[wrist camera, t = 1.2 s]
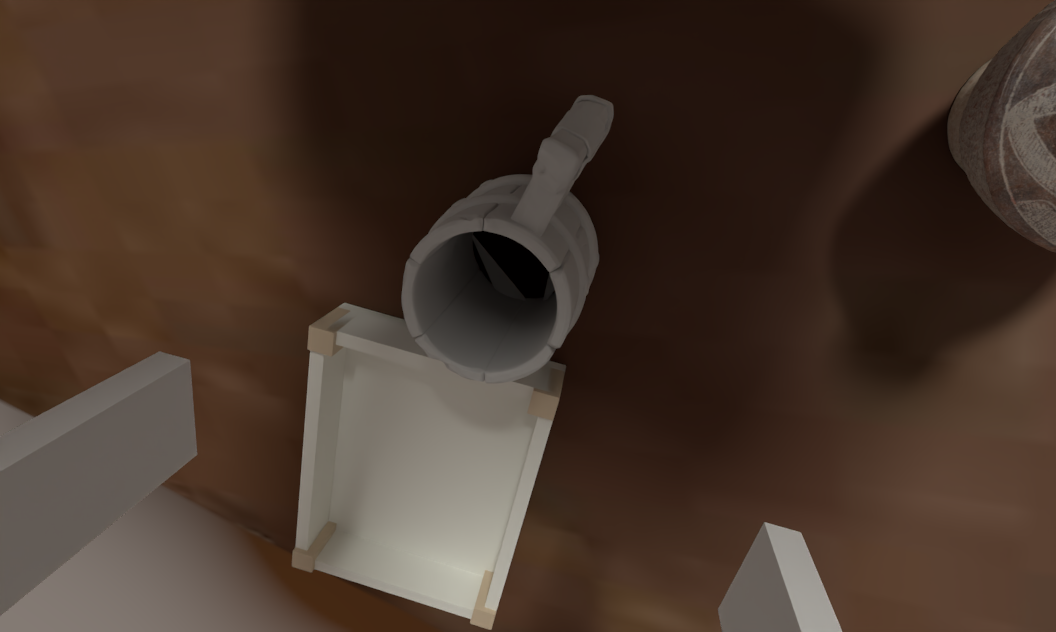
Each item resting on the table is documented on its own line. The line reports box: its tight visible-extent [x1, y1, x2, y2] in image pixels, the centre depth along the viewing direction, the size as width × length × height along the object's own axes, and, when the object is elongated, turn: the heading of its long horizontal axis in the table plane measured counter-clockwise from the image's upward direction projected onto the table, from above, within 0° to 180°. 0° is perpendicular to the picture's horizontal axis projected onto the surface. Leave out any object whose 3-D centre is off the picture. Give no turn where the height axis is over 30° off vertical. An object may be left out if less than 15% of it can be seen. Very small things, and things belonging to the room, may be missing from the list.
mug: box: [401, 95, 614, 383], centre depth 21 cm, size 8×12×12 cm, turn 152°
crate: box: [292, 303, 566, 630], centre depth 31 cm, size 18×14×4 cm
